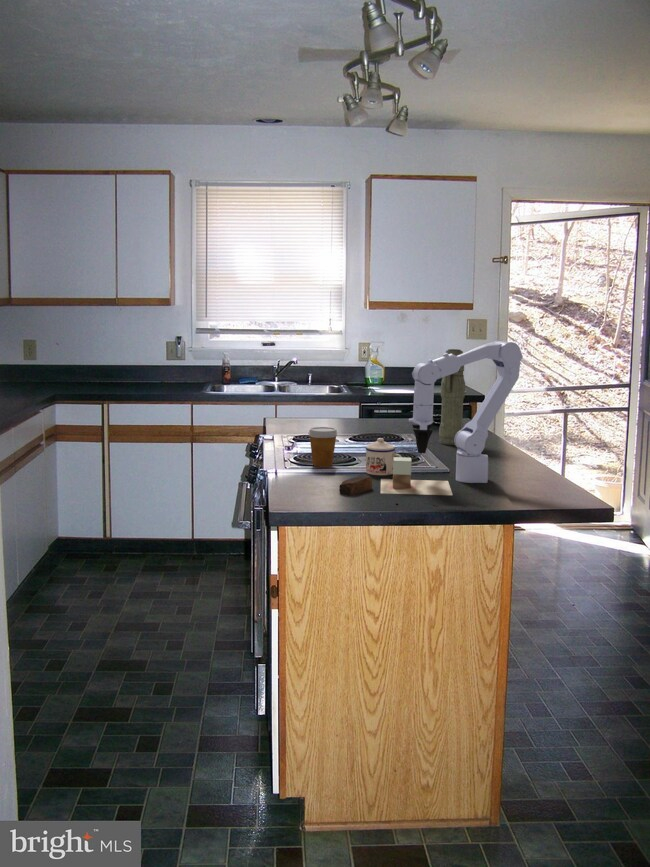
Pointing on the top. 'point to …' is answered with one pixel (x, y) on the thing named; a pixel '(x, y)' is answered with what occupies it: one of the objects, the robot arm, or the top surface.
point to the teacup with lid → (380, 458)
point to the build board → (418, 487)
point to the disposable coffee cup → (322, 445)
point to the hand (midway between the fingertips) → (421, 450)
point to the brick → (356, 485)
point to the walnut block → (401, 481)
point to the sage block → (402, 466)
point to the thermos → (452, 403)
